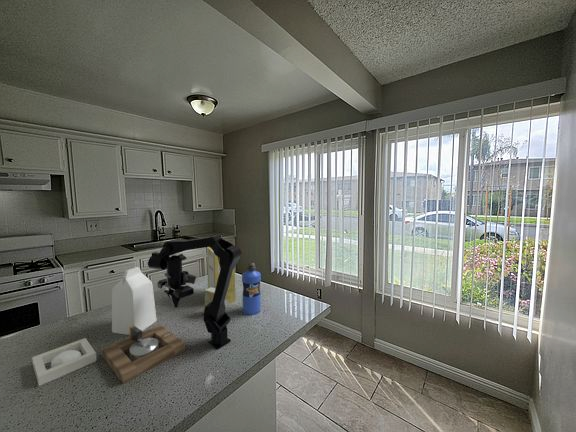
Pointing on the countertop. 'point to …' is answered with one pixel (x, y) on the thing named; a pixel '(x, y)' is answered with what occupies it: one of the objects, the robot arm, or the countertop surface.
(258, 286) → the water bottle
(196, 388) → the countertop surface
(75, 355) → the garlic
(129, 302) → the milk
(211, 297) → the skincare box
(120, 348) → the surround
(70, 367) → the frame
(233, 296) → the pasta box
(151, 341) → the dial
